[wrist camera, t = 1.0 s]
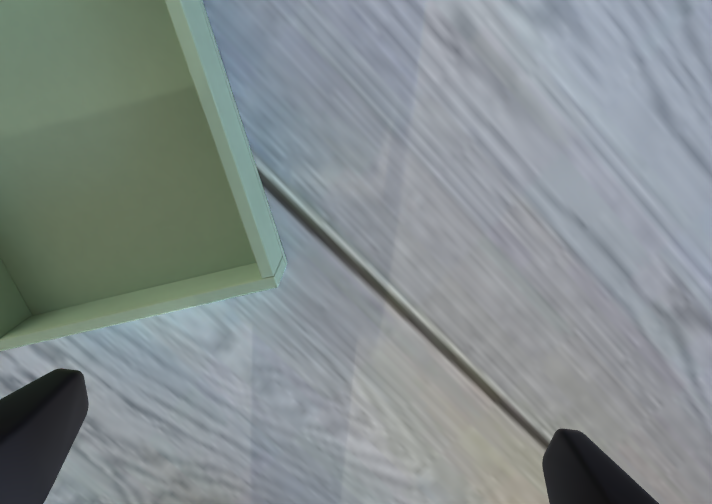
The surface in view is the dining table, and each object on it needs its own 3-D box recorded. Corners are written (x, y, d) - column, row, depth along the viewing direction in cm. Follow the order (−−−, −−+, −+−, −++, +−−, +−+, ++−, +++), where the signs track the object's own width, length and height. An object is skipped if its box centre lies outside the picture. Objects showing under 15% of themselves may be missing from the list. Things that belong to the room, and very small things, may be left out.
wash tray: (287, 263, 23) (278, 287, 20) (34, 322, 24) (-8, 353, 21) (166, -112, 18) (130, -149, 15) (-153, -12, 19) (-242, -29, 16)
